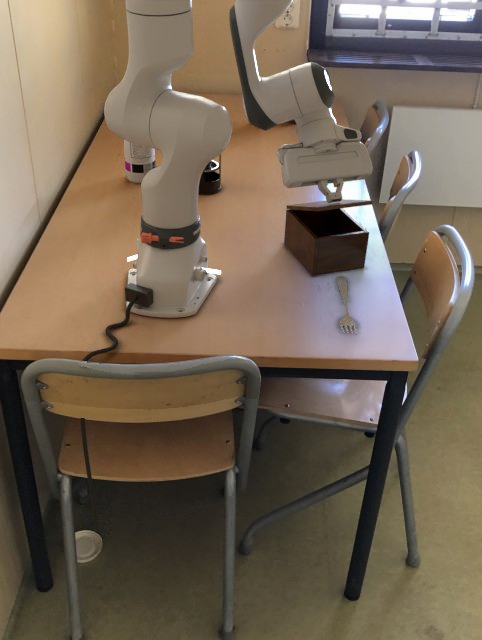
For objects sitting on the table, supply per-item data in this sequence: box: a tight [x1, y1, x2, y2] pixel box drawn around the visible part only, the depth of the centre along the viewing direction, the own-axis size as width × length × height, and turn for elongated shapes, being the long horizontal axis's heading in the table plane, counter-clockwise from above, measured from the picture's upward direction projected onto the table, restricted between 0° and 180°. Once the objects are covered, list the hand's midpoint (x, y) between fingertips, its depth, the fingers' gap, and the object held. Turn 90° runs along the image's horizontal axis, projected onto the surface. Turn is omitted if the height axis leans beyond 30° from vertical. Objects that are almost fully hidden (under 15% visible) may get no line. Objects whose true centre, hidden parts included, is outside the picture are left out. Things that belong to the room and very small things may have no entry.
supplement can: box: [122, 138, 157, 184], centre depth 188 cm, size 8×8×15 cm
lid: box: [286, 198, 374, 211], centre depth 152 cm, size 17×13×1 cm
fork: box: [336, 276, 358, 336], centre depth 141 cm, size 3×24×2 cm, turn 178°
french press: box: [198, 154, 222, 195], centre depth 183 cm, size 12×9×23 cm
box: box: [283, 208, 370, 277], centre depth 157 cm, size 16×13×9 cm
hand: (335, 201), depth 149 cm, fingers closed, pressing on lid
